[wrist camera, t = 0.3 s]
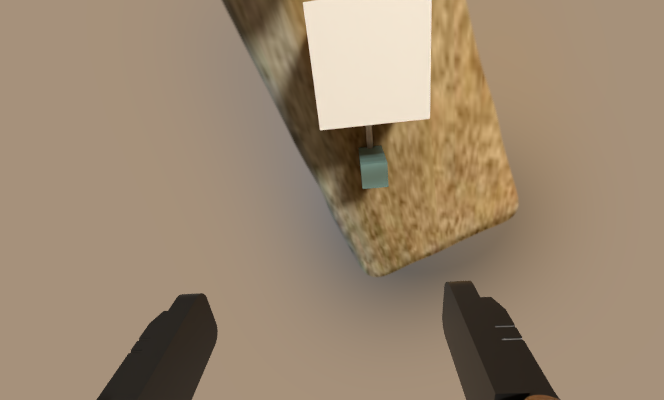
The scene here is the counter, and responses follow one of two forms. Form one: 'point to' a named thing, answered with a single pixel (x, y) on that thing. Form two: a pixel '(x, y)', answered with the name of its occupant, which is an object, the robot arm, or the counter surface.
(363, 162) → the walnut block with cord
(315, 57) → the cream white box
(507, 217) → the counter surface
